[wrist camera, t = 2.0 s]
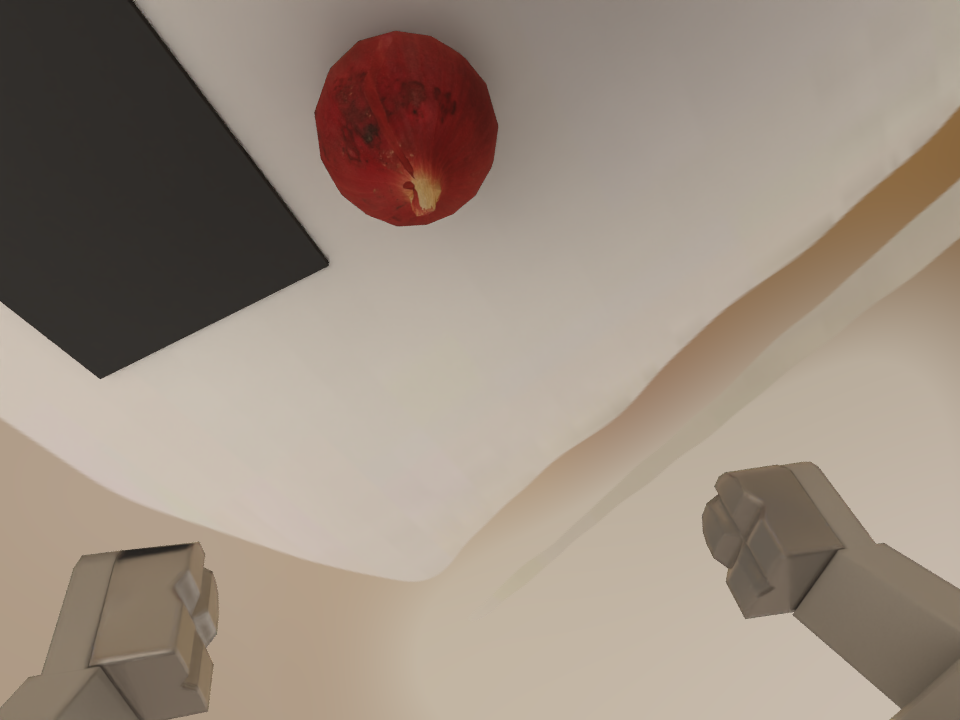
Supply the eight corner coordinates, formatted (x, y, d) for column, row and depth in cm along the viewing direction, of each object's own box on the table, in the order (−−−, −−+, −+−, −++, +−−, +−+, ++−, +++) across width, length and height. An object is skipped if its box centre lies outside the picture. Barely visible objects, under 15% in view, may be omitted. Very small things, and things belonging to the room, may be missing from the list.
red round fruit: (281, 86, 23) (269, 194, 17) (399, -37, 21) (429, 38, 16) (396, 193, 27) (417, 313, 21) (505, 95, 25) (563, 197, 19)
